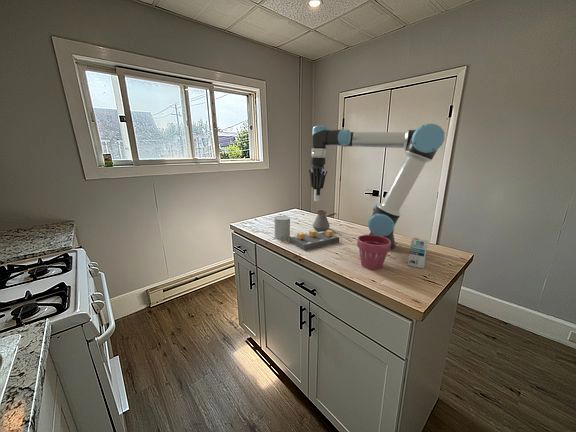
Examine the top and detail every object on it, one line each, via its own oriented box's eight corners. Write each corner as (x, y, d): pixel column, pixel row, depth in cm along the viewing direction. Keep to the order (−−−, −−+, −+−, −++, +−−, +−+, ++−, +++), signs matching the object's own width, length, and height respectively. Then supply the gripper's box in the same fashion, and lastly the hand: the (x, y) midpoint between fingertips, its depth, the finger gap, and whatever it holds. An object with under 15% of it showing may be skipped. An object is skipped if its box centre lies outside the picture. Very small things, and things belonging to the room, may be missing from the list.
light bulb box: (423, 269, 106) (427, 246, 103) (407, 265, 109) (410, 243, 107) (425, 260, 115) (428, 239, 112) (409, 257, 118) (412, 237, 115)
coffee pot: (309, 228, 163) (310, 207, 159) (323, 226, 168) (324, 205, 164) (327, 238, 144) (328, 214, 141) (342, 235, 149) (344, 212, 146)
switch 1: (304, 238, 133) (304, 233, 132) (300, 239, 132) (300, 234, 131) (301, 236, 136) (301, 232, 135) (297, 237, 134) (297, 232, 133)
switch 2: (316, 236, 137) (316, 231, 137) (312, 236, 136) (312, 232, 135) (313, 234, 140) (313, 229, 139) (309, 235, 138) (309, 230, 138)
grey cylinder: (271, 238, 142) (271, 218, 139) (278, 233, 151) (278, 215, 148) (286, 240, 139) (286, 220, 136) (292, 235, 148) (292, 216, 145)
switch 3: (332, 235, 138) (333, 231, 137) (328, 236, 137) (329, 231, 136) (329, 234, 141) (329, 229, 140) (325, 235, 139) (325, 230, 138)
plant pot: (348, 262, 111) (350, 237, 108) (369, 256, 118) (372, 232, 115) (372, 275, 99) (376, 247, 96) (394, 268, 106) (398, 241, 103)
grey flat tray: (339, 242, 138) (339, 236, 137) (304, 250, 125) (304, 244, 124) (323, 235, 149) (323, 230, 148) (290, 242, 137) (290, 237, 136)
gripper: (305, 156, 129) (304, 199, 135) (320, 157, 118) (318, 203, 124) (316, 157, 133) (314, 198, 138) (332, 157, 122) (329, 202, 128)
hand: (316, 200), depth 131 cm, fingers closed
